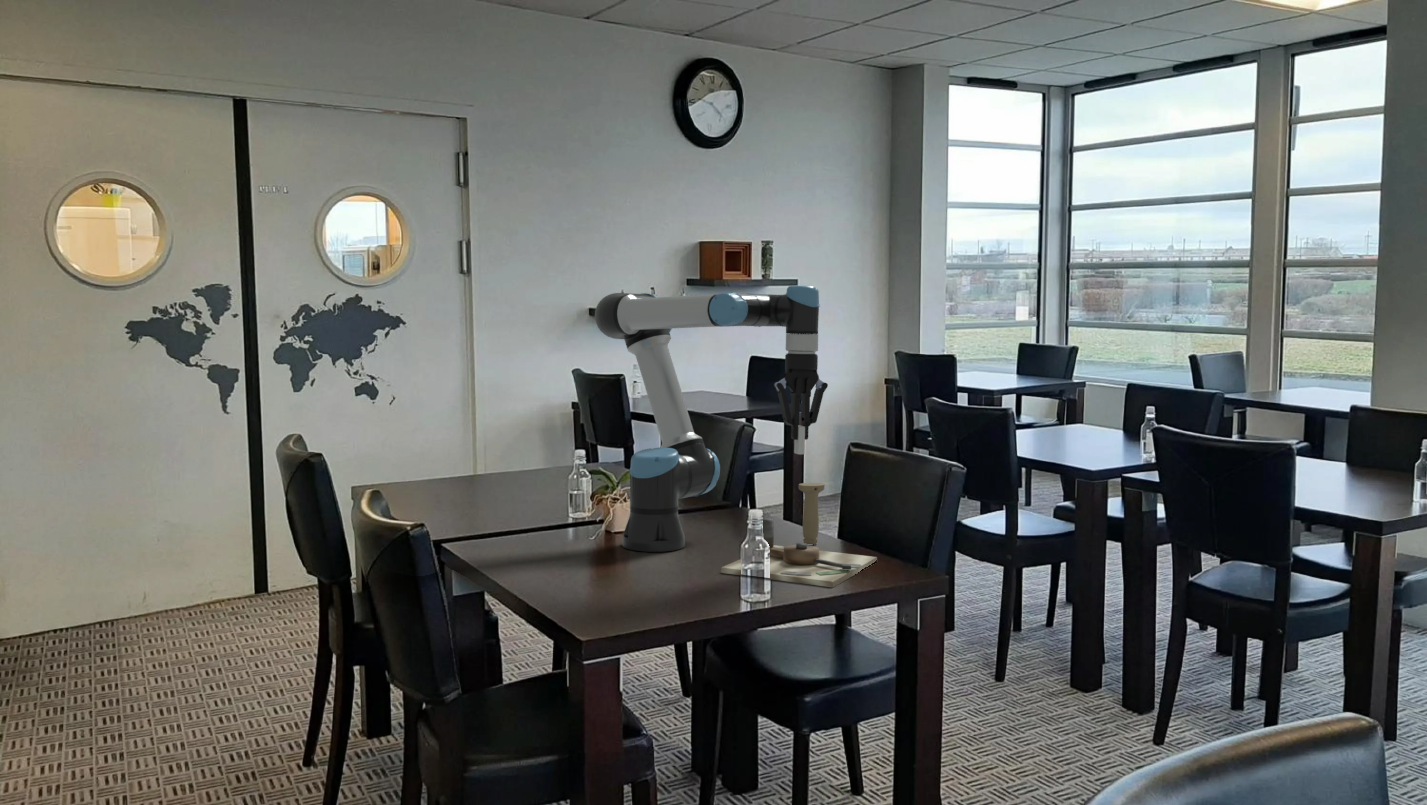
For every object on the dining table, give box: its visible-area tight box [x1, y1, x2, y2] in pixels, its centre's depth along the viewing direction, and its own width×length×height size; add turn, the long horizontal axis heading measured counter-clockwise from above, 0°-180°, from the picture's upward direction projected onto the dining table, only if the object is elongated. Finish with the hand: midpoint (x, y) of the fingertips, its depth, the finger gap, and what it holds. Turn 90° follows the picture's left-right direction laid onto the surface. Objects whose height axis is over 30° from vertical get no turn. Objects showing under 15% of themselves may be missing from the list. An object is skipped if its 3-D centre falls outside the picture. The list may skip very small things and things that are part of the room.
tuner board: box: [720, 544, 878, 588], centre depth 249 cm, size 26×28×1 cm
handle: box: [798, 482, 825, 545], centre depth 274 cm, size 5×6×15 cm
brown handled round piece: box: [762, 518, 851, 569], centre depth 248 cm, size 25×8×8 cm, turn 47°
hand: (799, 453), depth 260 cm, fingers closed
